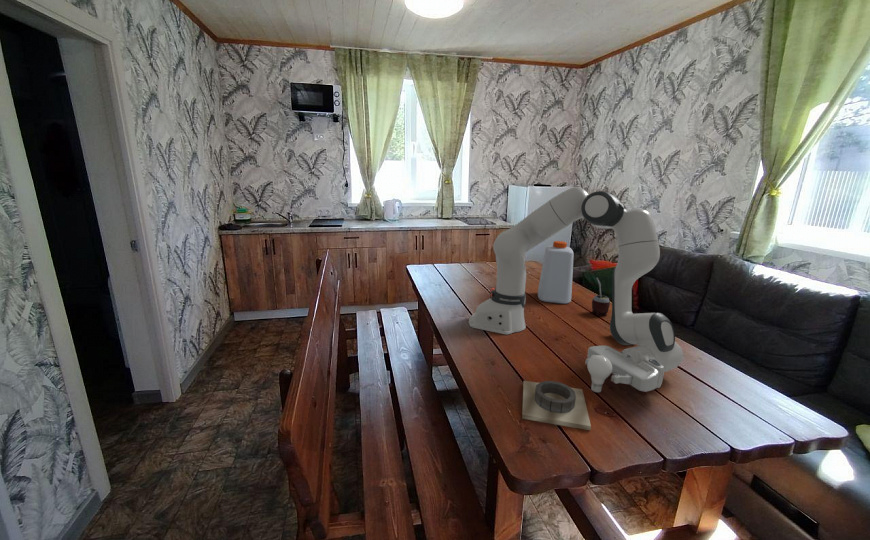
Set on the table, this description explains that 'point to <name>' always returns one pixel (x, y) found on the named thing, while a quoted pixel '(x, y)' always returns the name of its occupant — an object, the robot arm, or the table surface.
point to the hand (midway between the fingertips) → (599, 370)
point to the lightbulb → (599, 371)
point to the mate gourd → (600, 303)
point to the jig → (555, 404)
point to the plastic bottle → (556, 274)
